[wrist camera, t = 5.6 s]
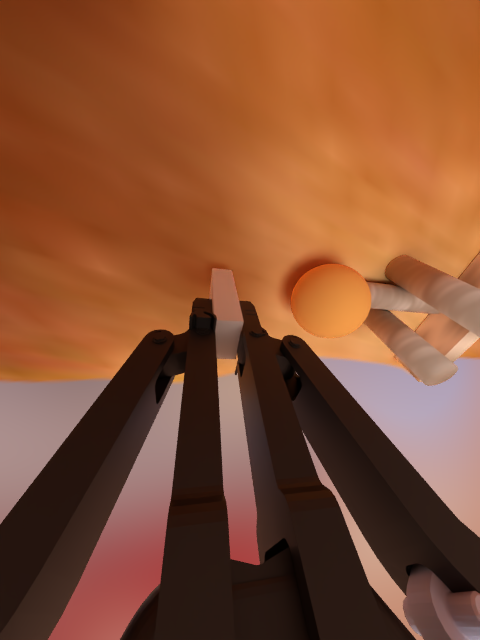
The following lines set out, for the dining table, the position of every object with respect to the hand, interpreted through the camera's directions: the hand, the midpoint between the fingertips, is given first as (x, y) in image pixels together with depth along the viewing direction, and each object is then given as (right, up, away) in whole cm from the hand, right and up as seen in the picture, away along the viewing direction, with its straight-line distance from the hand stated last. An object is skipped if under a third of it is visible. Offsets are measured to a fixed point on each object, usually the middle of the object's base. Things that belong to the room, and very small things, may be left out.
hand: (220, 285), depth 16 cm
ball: (+9, -1, +1) cm, 9 cm away
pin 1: (+16, +2, +3) cm, 17 cm away
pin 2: (+16, -2, +6) cm, 17 cm away
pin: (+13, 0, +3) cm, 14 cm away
